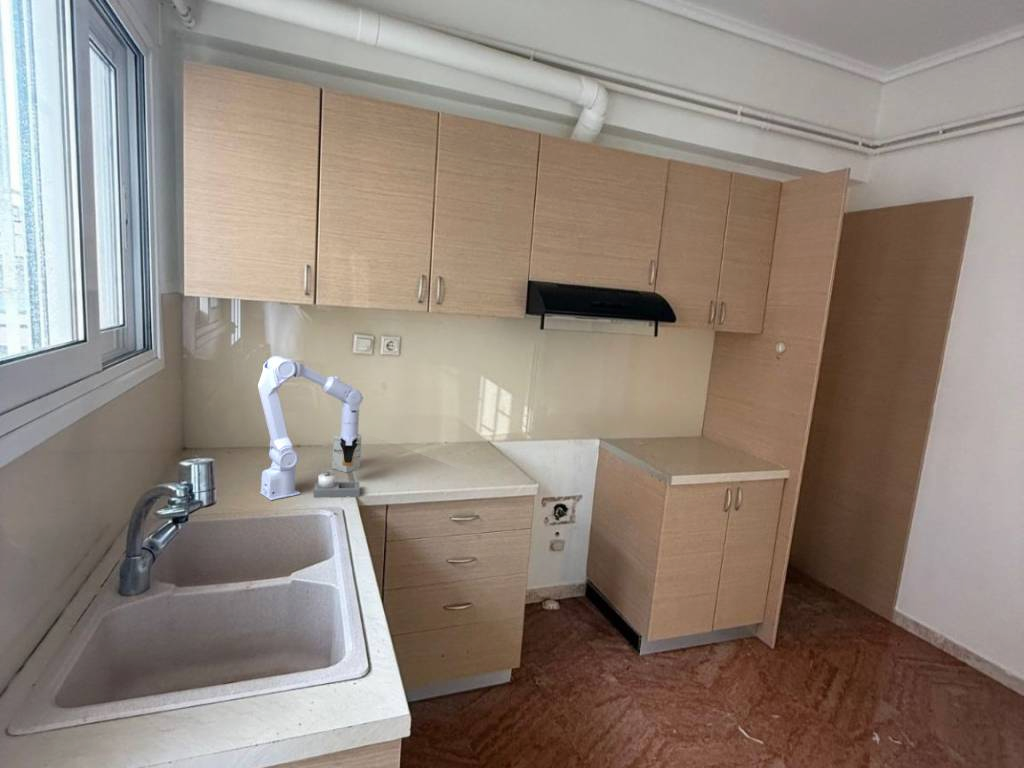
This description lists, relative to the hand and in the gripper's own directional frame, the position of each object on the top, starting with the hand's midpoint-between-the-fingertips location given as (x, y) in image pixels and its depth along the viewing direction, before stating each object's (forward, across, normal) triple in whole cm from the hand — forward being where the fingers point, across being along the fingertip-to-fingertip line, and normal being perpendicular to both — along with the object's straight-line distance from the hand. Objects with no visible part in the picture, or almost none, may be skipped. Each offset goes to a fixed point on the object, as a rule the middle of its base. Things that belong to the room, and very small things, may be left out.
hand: (348, 460), depth 179 cm
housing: (+8, -9, +3) cm, 13 cm away
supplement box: (+9, +17, 0) cm, 19 cm away
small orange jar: (+1, 0, 0) cm, 1 cm away
